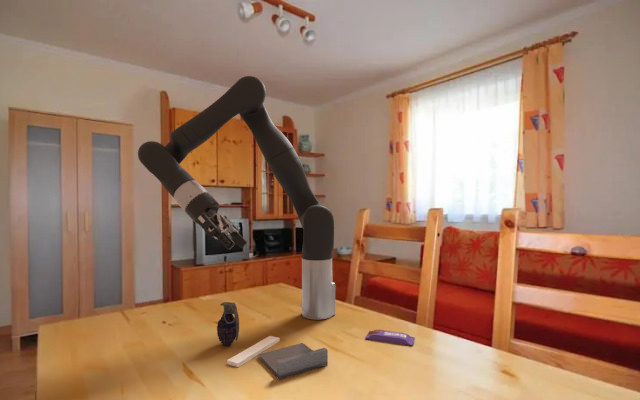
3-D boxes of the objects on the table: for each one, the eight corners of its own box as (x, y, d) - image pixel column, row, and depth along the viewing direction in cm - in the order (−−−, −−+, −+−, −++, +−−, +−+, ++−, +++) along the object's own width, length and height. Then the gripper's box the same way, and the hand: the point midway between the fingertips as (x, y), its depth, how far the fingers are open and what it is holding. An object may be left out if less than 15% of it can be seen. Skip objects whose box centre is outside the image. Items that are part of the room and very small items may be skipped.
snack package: (415, 333, 83) (412, 341, 79) (415, 341, 83) (412, 349, 79) (369, 326, 88) (364, 333, 83) (369, 334, 88) (364, 341, 83)
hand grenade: (244, 342, 82) (244, 301, 82) (233, 350, 77) (233, 307, 77) (224, 339, 84) (224, 299, 84) (212, 347, 79) (212, 305, 79)
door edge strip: (269, 338, 84) (269, 335, 84) (279, 341, 82) (279, 337, 82) (227, 364, 71) (227, 360, 71) (237, 367, 69) (237, 363, 69)
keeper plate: (302, 346, 79) (302, 332, 79) (327, 365, 70) (327, 349, 70) (258, 357, 74) (258, 343, 74) (279, 379, 64) (279, 363, 64)
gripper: (193, 187, 79) (238, 236, 77) (218, 194, 94) (257, 235, 91) (171, 210, 80) (216, 259, 77) (199, 213, 94) (238, 255, 91)
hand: (238, 246), depth 84 cm, fingers open, 8 cm apart
